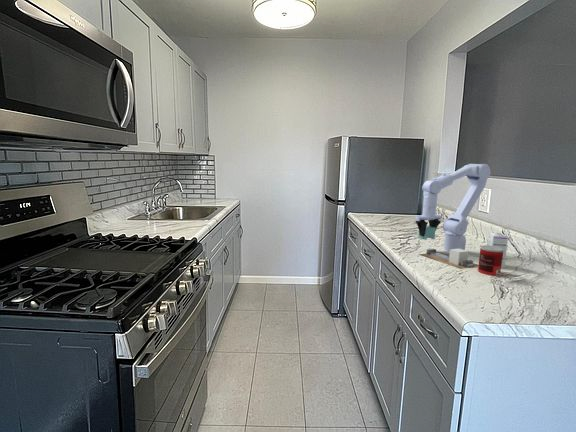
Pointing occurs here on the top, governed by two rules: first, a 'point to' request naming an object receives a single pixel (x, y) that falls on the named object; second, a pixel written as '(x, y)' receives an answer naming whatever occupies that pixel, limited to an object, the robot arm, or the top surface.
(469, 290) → the top surface
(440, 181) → the robot arm
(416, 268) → the top surface
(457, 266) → the mounting board
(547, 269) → the top surface
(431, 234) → the teal module
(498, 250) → the canned food
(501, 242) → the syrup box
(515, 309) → the top surface
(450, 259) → the grey module
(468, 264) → the steel rail
